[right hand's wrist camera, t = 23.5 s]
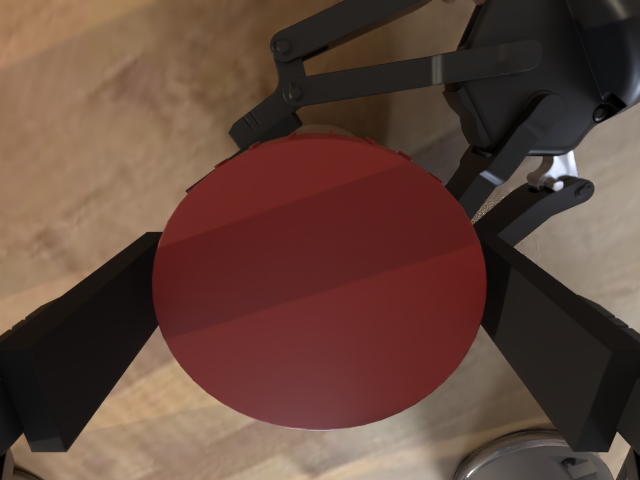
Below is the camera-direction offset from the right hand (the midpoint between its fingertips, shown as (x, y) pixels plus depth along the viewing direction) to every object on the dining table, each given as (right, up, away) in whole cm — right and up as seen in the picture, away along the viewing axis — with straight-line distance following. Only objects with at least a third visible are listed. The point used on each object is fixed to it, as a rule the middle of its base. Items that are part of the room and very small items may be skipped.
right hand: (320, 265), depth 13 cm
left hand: (-4, 0, +7) cm, 8 cm away
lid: (0, -1, -2) cm, 3 cm away
